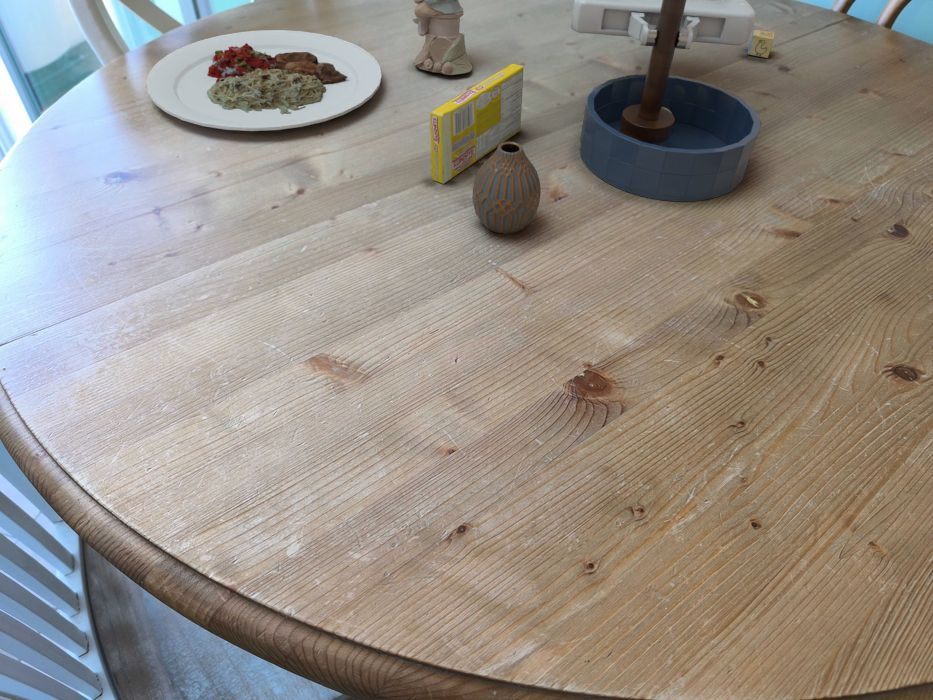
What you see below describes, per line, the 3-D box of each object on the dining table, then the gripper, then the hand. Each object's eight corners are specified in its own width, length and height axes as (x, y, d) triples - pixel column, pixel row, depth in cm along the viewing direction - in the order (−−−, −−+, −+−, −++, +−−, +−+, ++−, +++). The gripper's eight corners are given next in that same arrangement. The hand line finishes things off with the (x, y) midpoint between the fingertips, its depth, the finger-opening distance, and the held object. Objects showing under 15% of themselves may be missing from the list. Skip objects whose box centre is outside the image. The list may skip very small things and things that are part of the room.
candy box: (506, 126, 94) (512, 61, 89) (521, 131, 93) (527, 66, 88) (428, 179, 84) (428, 109, 79) (443, 185, 84) (445, 115, 78)
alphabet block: (748, 48, 116) (754, 28, 114) (768, 51, 116) (775, 31, 113) (746, 55, 114) (752, 35, 112) (767, 59, 113) (774, 38, 111)
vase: (487, 248, 75) (493, 170, 69) (460, 212, 80) (463, 136, 74) (548, 234, 77) (558, 158, 71) (518, 200, 82) (526, 125, 76)
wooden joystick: (668, 121, 90) (711, -54, 77) (673, 146, 86) (719, -36, 73) (618, 117, 91) (652, -59, 77) (620, 141, 86) (657, -41, 73)
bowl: (730, 126, 97) (743, 81, 93) (758, 208, 83) (775, 160, 79) (578, 113, 98) (585, 68, 94) (580, 193, 84) (589, 144, 79)
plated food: (319, 162, 86) (316, 135, 84) (98, 114, 92) (90, 87, 90) (415, 64, 107) (415, 40, 105) (230, 30, 113) (226, 6, 111)
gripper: (735, 29, 92) (755, 77, 82) (568, 16, 93) (568, 61, 83) (750, -26, 87) (774, 17, 77) (575, -39, 88) (576, 2, 78)
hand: (666, 40), depth 80 cm, fingers closed on wooden joystick, 2 cm apart
